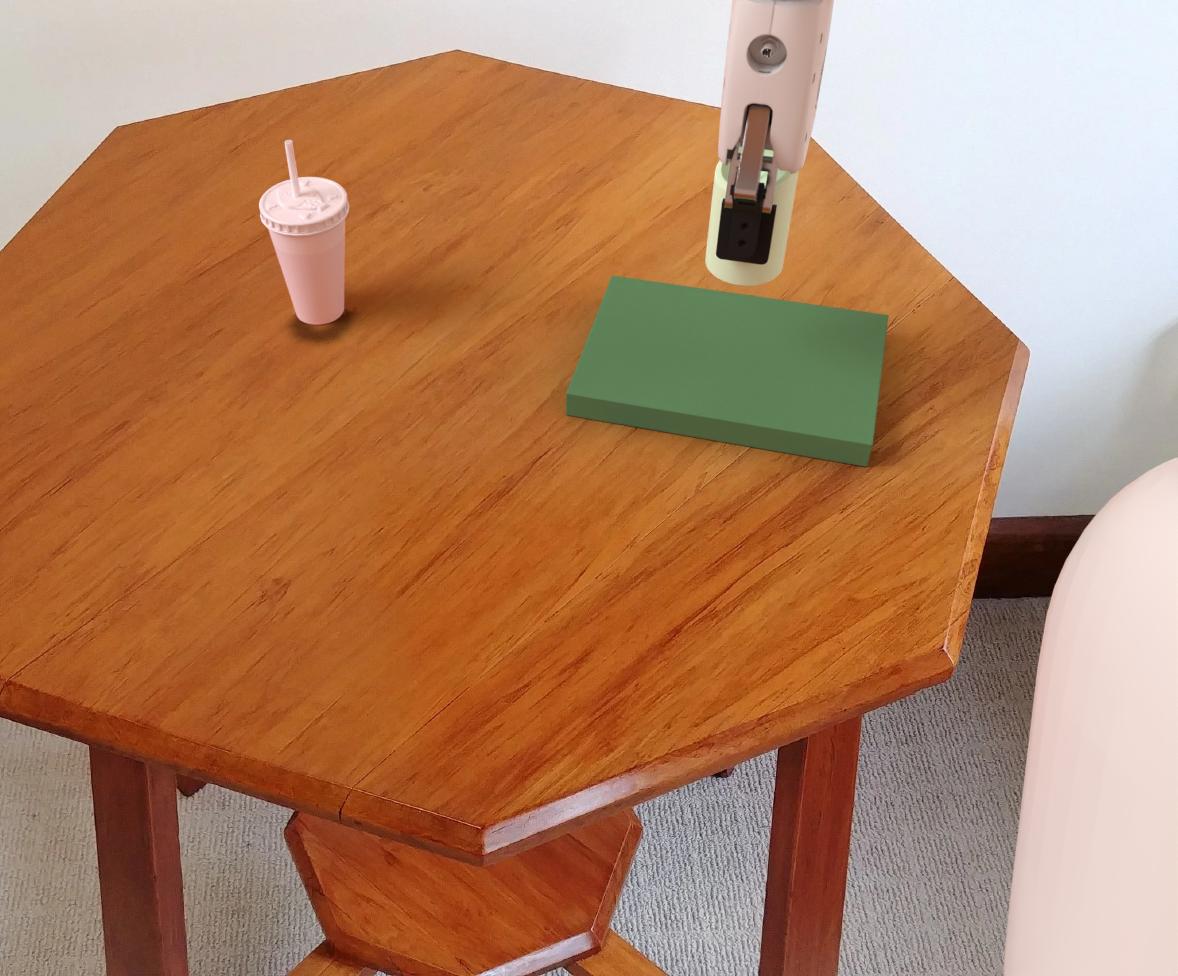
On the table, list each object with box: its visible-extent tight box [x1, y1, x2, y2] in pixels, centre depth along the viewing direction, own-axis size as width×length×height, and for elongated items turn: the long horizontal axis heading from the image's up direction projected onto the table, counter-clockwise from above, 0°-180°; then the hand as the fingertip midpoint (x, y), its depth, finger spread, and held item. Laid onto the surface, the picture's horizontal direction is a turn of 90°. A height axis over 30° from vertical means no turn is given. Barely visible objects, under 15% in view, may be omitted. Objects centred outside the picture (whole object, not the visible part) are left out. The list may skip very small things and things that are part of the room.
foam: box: [565, 275, 889, 468], centre depth 86 cm, size 20×14×2 cm
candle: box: [704, 147, 800, 287], centre depth 78 cm, size 5×5×8 cm
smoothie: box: [258, 139, 350, 326], centre depth 90 cm, size 6×6×14 cm
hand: (748, 233), depth 79 cm, fingers closed on candle, 4 cm apart
